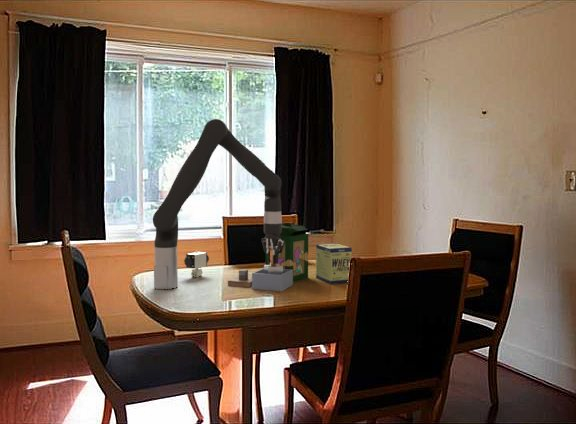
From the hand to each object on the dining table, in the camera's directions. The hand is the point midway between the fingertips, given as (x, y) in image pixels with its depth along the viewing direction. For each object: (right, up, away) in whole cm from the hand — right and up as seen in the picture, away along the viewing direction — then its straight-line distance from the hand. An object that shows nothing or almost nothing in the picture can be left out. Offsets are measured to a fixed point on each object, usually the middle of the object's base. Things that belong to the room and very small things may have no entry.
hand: (272, 262), depth 236 cm
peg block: (0, -6, +1) cm, 6 cm away
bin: (0, -10, +1) cm, 10 cm away
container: (+6, -9, +19) cm, 22 cm away
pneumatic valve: (-36, -9, +22) cm, 43 cm away
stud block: (-13, -10, +7) cm, 17 cm away
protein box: (+27, -9, +15) cm, 32 cm away
